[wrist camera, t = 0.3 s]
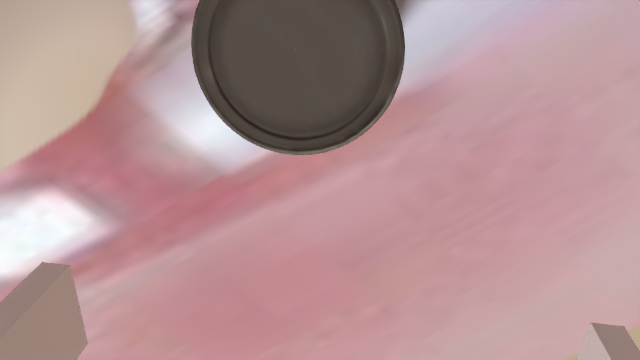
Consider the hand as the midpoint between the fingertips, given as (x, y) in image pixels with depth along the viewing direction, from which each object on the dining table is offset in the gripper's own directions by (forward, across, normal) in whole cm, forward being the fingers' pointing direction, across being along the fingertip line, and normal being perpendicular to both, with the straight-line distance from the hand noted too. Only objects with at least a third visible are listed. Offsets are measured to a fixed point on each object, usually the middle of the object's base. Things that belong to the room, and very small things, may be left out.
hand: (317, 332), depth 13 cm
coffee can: (+28, -3, +3) cm, 28 cm away
